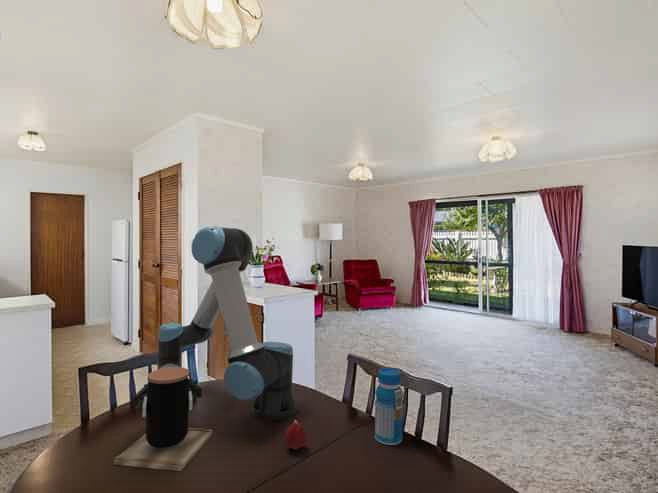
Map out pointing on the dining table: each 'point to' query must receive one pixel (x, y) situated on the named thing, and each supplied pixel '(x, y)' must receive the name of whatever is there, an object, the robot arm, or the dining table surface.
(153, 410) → the coffee jar
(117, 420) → the dining table surface
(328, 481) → the dining table surface
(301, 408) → the dining table surface
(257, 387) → the robot arm
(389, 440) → the beverage bottle
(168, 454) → the board
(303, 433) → the onion
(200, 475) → the dining table surface
